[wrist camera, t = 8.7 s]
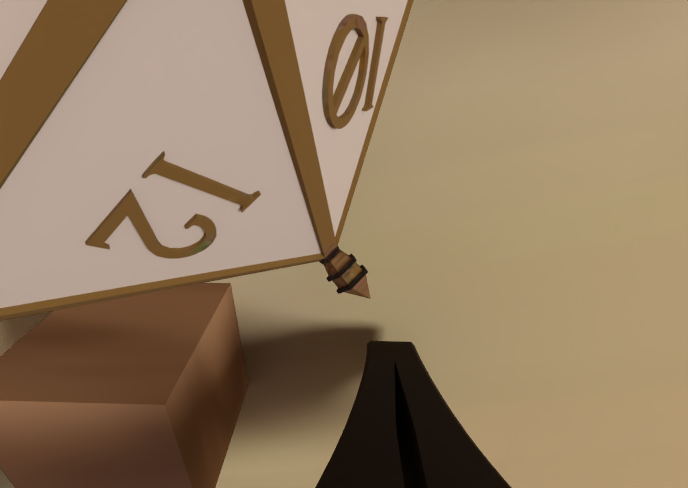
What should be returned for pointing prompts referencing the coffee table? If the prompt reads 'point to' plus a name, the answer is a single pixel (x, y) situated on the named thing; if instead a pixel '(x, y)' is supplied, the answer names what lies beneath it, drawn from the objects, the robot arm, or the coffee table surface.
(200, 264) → the game die
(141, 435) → the walnut block
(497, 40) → the coffee table surface
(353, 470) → the robot arm
